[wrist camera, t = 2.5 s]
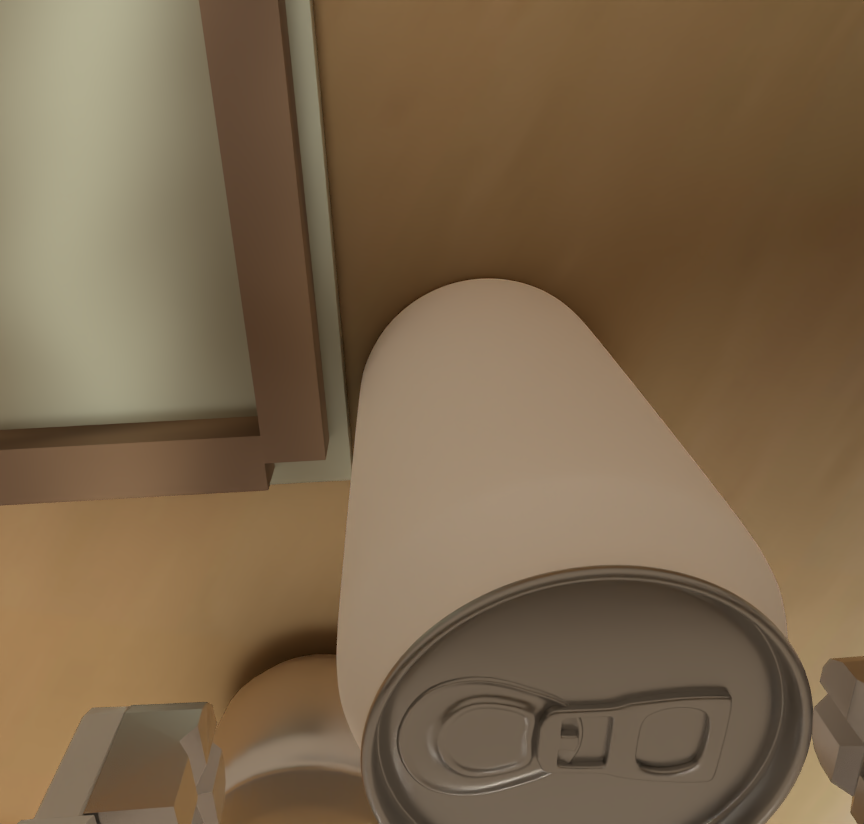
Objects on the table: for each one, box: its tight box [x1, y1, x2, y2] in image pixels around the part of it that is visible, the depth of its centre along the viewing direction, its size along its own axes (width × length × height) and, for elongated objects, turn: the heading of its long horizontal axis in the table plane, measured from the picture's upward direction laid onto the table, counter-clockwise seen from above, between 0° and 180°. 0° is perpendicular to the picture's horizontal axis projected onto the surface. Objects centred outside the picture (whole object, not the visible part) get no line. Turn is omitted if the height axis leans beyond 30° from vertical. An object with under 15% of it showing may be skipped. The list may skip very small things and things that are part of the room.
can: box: [337, 278, 813, 824], centre depth 15 cm, size 6×6×12 cm
